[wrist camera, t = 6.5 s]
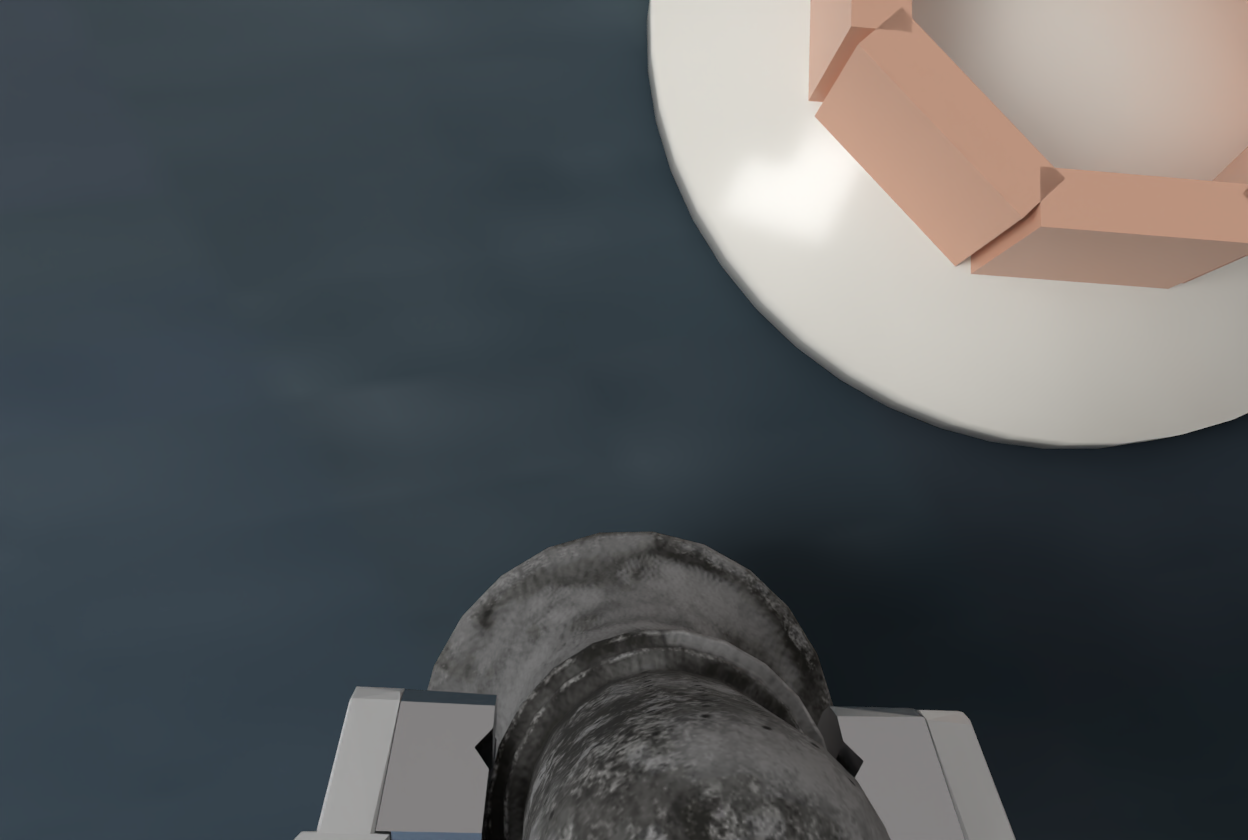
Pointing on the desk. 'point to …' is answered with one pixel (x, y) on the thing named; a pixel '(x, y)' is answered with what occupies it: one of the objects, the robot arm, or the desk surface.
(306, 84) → the desk surface
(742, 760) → the grey chess piece
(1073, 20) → the saucer
